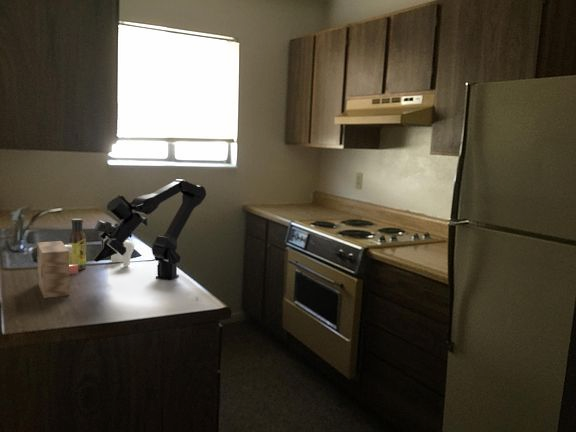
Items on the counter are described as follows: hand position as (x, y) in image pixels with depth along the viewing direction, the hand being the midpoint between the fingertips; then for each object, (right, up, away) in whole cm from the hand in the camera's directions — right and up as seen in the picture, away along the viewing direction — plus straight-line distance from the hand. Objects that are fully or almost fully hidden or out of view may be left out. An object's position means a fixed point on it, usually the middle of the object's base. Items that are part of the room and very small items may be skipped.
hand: (95, 260), depth 183 cm
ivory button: (-14, +2, +5) cm, 15 cm away
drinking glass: (-6, -4, +43) cm, 44 cm away
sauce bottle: (-17, -6, +29) cm, 34 cm away
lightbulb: (0, -5, +34) cm, 35 cm away
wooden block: (-14, -10, 0) cm, 17 cm away
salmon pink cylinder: (-8, -4, -4) cm, 10 cm away
